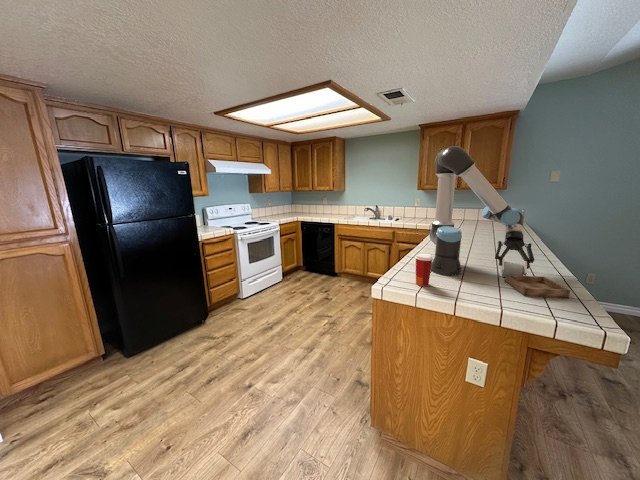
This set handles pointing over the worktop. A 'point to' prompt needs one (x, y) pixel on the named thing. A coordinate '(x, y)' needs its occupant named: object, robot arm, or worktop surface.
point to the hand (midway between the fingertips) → (513, 272)
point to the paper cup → (423, 269)
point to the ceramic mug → (513, 269)
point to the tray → (537, 286)
